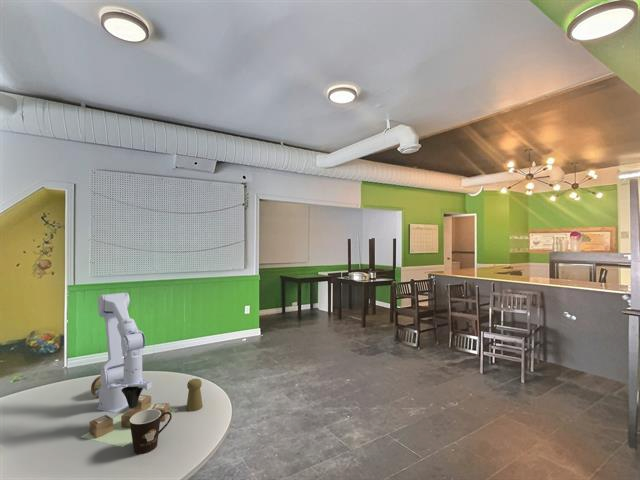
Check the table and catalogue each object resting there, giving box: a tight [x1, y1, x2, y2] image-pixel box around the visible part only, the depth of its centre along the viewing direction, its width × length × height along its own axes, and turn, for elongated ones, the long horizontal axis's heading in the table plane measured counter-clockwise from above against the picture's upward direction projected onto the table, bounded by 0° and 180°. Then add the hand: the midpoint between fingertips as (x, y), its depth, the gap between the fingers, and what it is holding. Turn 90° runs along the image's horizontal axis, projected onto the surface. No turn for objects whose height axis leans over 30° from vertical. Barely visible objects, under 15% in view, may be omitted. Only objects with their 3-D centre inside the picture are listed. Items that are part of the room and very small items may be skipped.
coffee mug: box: [130, 409, 173, 455], centre depth 101 cm, size 12×9×10 cm
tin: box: [90, 375, 102, 398], centre depth 139 cm, size 15×3×8 cm, turn 155°
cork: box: [185, 378, 204, 413], centre depth 125 cm, size 6×6×11 cm
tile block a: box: [88, 414, 113, 438], centre depth 109 cm, size 5×5×4 cm
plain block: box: [121, 408, 144, 428], centre depth 114 cm, size 5×5×4 cm
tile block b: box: [152, 402, 170, 422], centre depth 118 cm, size 5×5×4 cm
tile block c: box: [129, 394, 152, 410], centre depth 124 cm, size 5×5×4 cm
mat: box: [80, 403, 179, 448], centre depth 115 cm, size 18×24×1 cm
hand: (132, 406), depth 114 cm, fingers closed
